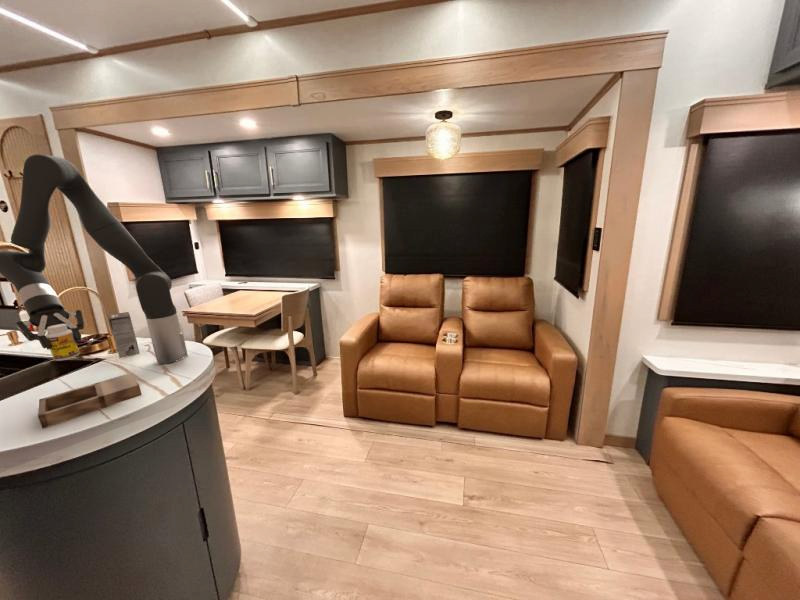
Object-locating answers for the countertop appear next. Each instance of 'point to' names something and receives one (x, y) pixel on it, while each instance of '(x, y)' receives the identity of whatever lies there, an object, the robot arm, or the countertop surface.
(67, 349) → the supplement bottle
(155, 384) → the countertop surface
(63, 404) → the cup caddy
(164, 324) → the robot arm
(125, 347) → the coffee box
